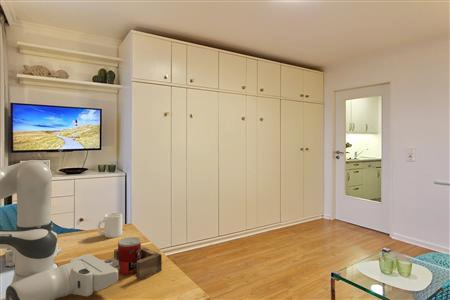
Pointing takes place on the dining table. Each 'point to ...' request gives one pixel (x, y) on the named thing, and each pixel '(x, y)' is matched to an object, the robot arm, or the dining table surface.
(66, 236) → the dining table surface
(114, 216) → the cup
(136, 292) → the dining table surface
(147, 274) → the corral
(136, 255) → the canned food
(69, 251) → the dining table surface
